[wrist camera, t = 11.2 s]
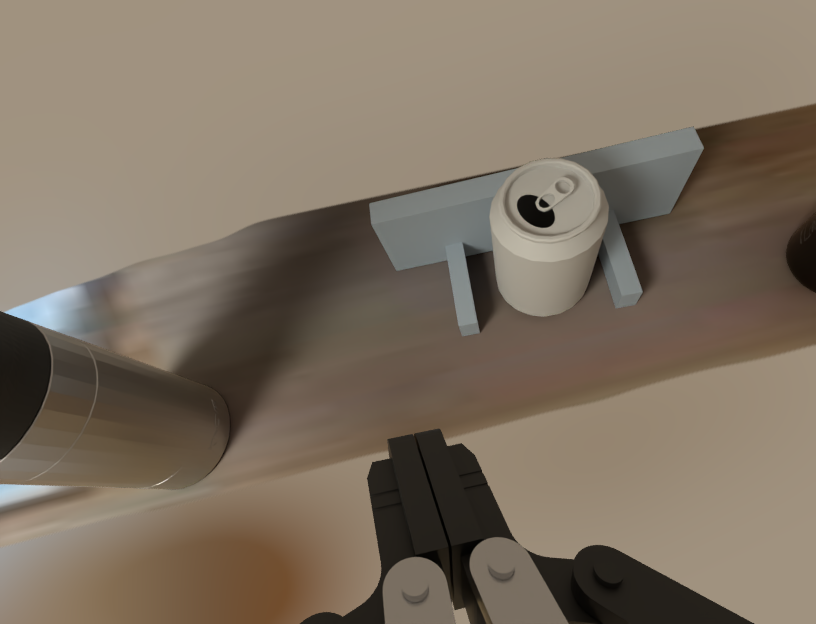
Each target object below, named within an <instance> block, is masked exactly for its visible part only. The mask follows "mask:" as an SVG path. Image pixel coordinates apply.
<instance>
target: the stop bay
mask: <svg viewBox="0 0 816 624" xmlns="http://www.w3.org/2000/svg"><path fill="white" fill-rule="evenodd" d="M703 149H704V147H703V145H702V143H701V141H700V139H699V137H698V135H697V133H696V131H695V129H694V127H689V128H685V129H681V130H676V131H672V132H668V133H664V134H660V135H655V136H651V137H647V138H643V139H638V140H634V141H630V142H626V143H622V144H617V145H613V146H609V147H605V148H601V149H596V150H592V151H588V152H584V153H580V154H575V155H571V156H567V157H563V158H561V159H565V160H569V161H573V162H576V163H578V164H579V165H581V166H583V167H584V168H586V169H588V170H589V171H590V172H591V174H592V175H593V176H594V177H595V178H596V179H597V181H598V183H599V186H600V187H601V189H602V190H603V191H604V194H605V196H606V199H607V202H608V205H609V211H608V223H607V226H606V229H605V233H604V236H603V239H602V242H601V245H600V249H599V252H598V255H599V258H600V261H601V264H602V267H603V270H604V273H605V276H606V280H607V283H608V286H609V289H610V292H611V295H612V298H613V301H614V304H615V308H620V307H626V306H631V305H635V304H636V303H637V301H638V299H639V298H640V296H641V294H642V293H643V291H642V288H641V285H640V283H639V280H638V277H637V274H636V271H635V268H634V266H633V263H632V260H631V257H630V254H629V251H628V249H627V246H626V243H625V240H624V237H623V234H622V232H621V229H620V226H619V224H622V223H627V222H632V221H636V220H641V219H646V218H651V217H655V216H660V215H665V214H670V212H671V210H672V208H673V206H674V205H675V203H676V201H677V199H678V197H679V195H680V193H681V191H682V189H683V187H684V185H685V183H686V182H687V180H688V178H689V176H690V174H691V172H692V170H693V168H694V166H695V164H696V162H697V160H698V159H699V157H700V155H701V153H702V151H703ZM516 169H517V168H516ZM516 169H512V170H508V171H504V172H500V173H495V174H491V175H487V176H483V177H478V178H474V179H470V180H466V181H462V182H457V183H453V184H449V185H445V186H441V187H436V188H432V189H428V190H424V191H420V192H415V193H411V194H407V195H403V196H398V197H394V198H390V199H386V200H382V201H377V202H373V203H369V206H370V216H371V225H372V227H373V229H374V230H375V232H376V234H377V236H378V238H379V240H380V241H381V243H382V245H383V247H384V249H385V251H386V252H387V254H388V256H389V258H390V260H391V262H392V264H393V265H394V267H395V269H396V271H399V270H404V269H408V268H413V267H418V266H423V265H427V264H432V263H437V262H442V261H446V260H448V265H449V271H450V277H451V283H452V289H453V295H454V301H455V307H456V313H457V319H458V325H459V328H460V331H461V334H462V336H467V335H472V334H478V333H480V331H479V326H478V320H477V315H476V310H475V304H474V299H473V294H472V288H471V283H470V278H469V272H468V267H467V261H466V256H470V255H475V254H480V253H484V252H489V251H493V245H492V236H491V227H490V218H489V216H490V209H491V203H492V200H493V198H494V197H495V195H496V193H497V191H498V189H499V188H500V187H501V186H502V185H503V184H504V182H505V180H506V178H508V177H509V176H510V175H511V174H512V173H513V172H514V171H515V170H516Z"/></svg>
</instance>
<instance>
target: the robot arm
mask: <svg viewBox="0 0 816 624" xmlns="http://www.w3.org/2000/svg"><path fill="white" fill-rule="evenodd" d="M229 431H230V416H229V412H228V408H227V405H226V404H225V402H224V400H223V398H222V397H221V396H220V395H219V394H218V393H217V391H215V390H213V389H212V388H210V387H208V386H205V385H203V384H200V383H197V382H194V381H192V380H189V379H186V378H183V377H181V376H178V375H176V374H173V373H170V372H167V371H165V370H162V369H159V368H156V367H154V366H151V365H148V364H145V363H143V362H140V361H137V360H134V359H132V358H129V357H126V356H123V355H120V354H118V353H115V352H112V351H109V350H107V349H104V348H101V347H98V346H96V345H93V344H90V343H87V342H85V341H82V340H79V339H76V338H74V337H70V336H67V335H65V334H62V333H59V332H56V331H53V330H51V329H48V328H45V327H42V326H40V325H37V324H34V323H31V322H29V321H26V320H23V319H20V318H17V317H14V316H12V315H9V314H6V313H3V312H1V311H0V484H16V485H49V486H82V487H115V488H140V489H181V488H185V487H188V486H191V485H193V484H195V483H197V482H198V481H200V480H201V479H203V478H204V477H205V476H206V475H207V474H208V473H209V472H211V471H212V469H213V468H214V467H215V465H216V464H217V463H218V461H219V460H220V458H221V456H222V454H223V452H224V450H225V448H226V445H227V442H228V438H229ZM387 441H388V450H389V457H390V459H385V460H381V461H376V462H372V465H371V468H370V471H369V475H368V478H367V480H368V486H369V492H370V498H371V504H372V511H373V516H374V523H375V529H376V535H377V541H378V547H379V553H380V560H381V568H382V569H381V577H380V581H379V583H378V586H377V588H376V589H375V591H374V593H373V594H372V595H371V597H370V598H369V599H368V600H367V601H366V602H365V603H363V604H362V605H360V606H359V607H357V608H356V609H354V610H353V611H351V612H350V613H348V614H347V615H345V616H343V617H342V616H340V615H338V614H335V613H330V612H323V613H318V614H315V615H312V616H311V617H309V618H307V619H305V620H304V621H303V622H301V623H300V624H456V623H455V618H454V613H453V608H452V602H453V605H454V609H455V610H457V609H461V608H466V611H467V615H468V618H469V621H470V624H754V623H752V622H750V621H748V620H746V619H744V618H743V617H740V616H739V615H737V614H735V613H733V612H732V611H730V610H728V609H726V608H724V607H722V606H720V605H718V604H717V603H715V602H713V601H711V600H709V599H707V598H706V597H704V596H702V595H700V594H698V593H696V592H694V591H693V590H690V589H689V588H687V587H685V586H683V585H681V584H680V583H678V582H676V581H674V580H672V579H670V578H668V577H667V576H665V575H663V574H661V573H659V572H657V571H655V570H653V569H651V568H650V567H648V566H646V565H644V564H642V563H641V562H639V561H637V560H635V559H633V558H631V557H629V556H628V555H626V554H624V553H622V552H620V551H618V550H616V549H614V548H611V547H608V546H603V545H593V546H588V547H586V548H584V549H582V550H581V551H580V552H578V554H577V555H576V557H575V559H574V560H573V559H561V558H550V557H543V556H539V555H536V554H534V553H532V552H530V551H528V550H526V549H525V548H523V547H522V546H521V545H520V544H519V543H518V542H517V541H516V540H515V539H514V537H513V536H512V534H511V533H510V530H509V528H508V526H507V524H506V522H505V519H504V517H503V515H502V513H501V511H500V509H499V507H498V504H497V502H496V500H495V498H494V496H493V493H492V491H491V489H490V487H489V486H488V484H487V481H486V478H485V476H484V474H483V473H482V470H481V467H480V466H479V463H478V462H477V459H476V457H475V455H474V454H473V453H472V452H470V450H468V449H467V448H466V447H465V446H464V445H463V444H462V443H461V444H456V445H452V446H447V445H446V442H445V440H444V437H443V435H442V432H441V430H440V429H435V430H430V431H425V432H420V433H415V434H414V436H413V434H411V435H406V436H401V437H396V438H391V439H387Z"/></svg>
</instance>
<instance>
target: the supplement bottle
mask: <svg viewBox="0 0 816 624" xmlns="http://www.w3.org/2000/svg"><path fill="white" fill-rule="evenodd" d="M786 258H787V263H788V266H789V268H790V270H791V272H792V273H793V275H794V276H795V277H796V279H797V280H798V281H799V282H800V283H801V284H803V285H804V286H805V287H807V288H808V289H810V290H811V291H813V292H815V293H816V213H815V214H814V215H813V216H812V217H810V218H809V219H808V220H807V221H806V222H805V223H804V224H803V225H802V226H801V227H800V228H799V229H798V230H797V231H796V232H795V233H794V234H793V236H792V237H791V239H790V240H789V243H788V245H787V249H786Z"/></svg>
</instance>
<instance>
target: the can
mask: <svg viewBox="0 0 816 624" xmlns="http://www.w3.org/2000/svg"><path fill="white" fill-rule="evenodd" d="M608 211H609V205H608V202H607V199H606V196H605V194H604V191H603V190H602V189H601V187H600V186H599V183H598V181H597V179H596V178H595V177H594V176H593V175H592V174H591V172H590V171H589V170H588V169H586V168H584V167H583V166H581V165H579V164H578V163H576V162H573V161H569V160H565V159H561V158H544V159H540V160H536V161H532V162H529V163H527V164H525V165H523V166H521V167H519V168H517V169H516V170H515V171H514V172H513V173H512V174H511V175H510V176H509V177H508V178H506V180H505V182H504V184H503V185H502V186H501V187H500V188H499V189H498V191H497V193H496V195H495V197H494V198H493V200H492V203H491V209H490V216H489V218H490V227H491V236H492V245H493V254H494V263H495V272H496V279H497V284H498V289H499V291H500V293H501V294H502V296H503V297H504V299H505V301H506V302H508V303H509V304H510V305H511V306H512V307H514V308H515V309H516V310H518V311H521V312H523V313H526V314H528V315H534V316H544V317H545V316H550V315H556V314H560V313H562V312H564V311H566V310H568V309H570V308H572V307H573V306H574V305H575V304H576V303H577V302H578V301H579V300H580V299H581V298H582V297H583V295H584V293H585V290H586V288H587V286H588V284H589V280H590V277H591V274H592V271H593V268H594V264H595V261H596V258H597V255H598V252H599V249H600V245H601V242H602V239H603V236H604V233H605V229H606V226H607V223H608Z"/></svg>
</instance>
